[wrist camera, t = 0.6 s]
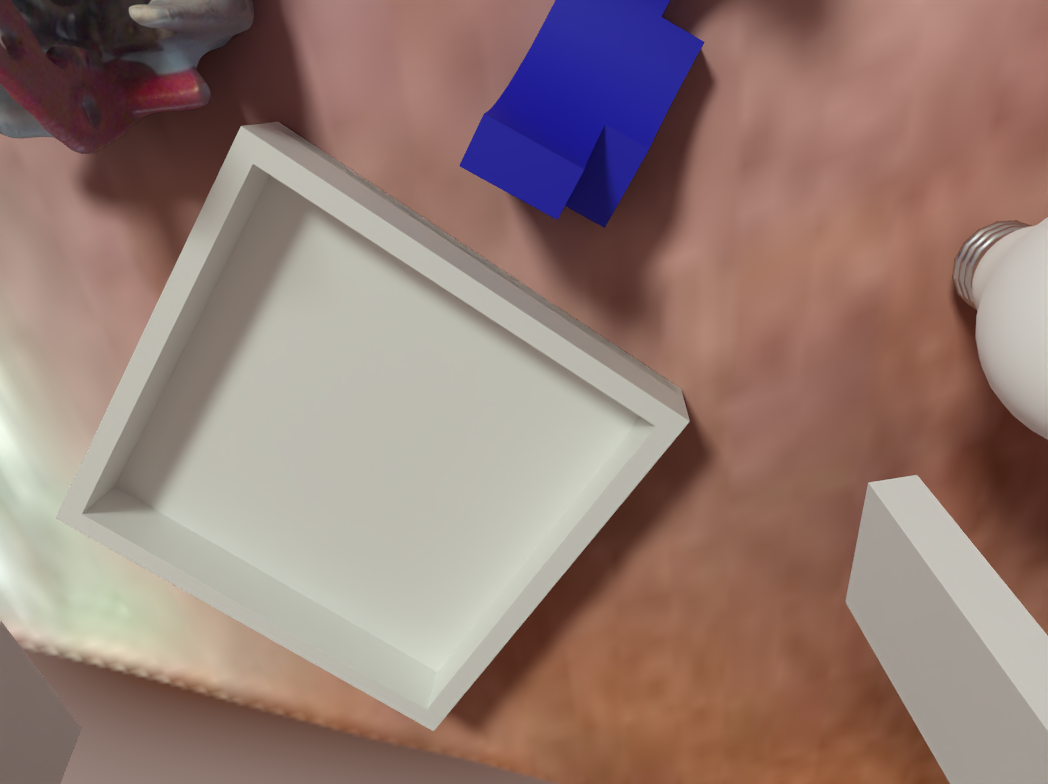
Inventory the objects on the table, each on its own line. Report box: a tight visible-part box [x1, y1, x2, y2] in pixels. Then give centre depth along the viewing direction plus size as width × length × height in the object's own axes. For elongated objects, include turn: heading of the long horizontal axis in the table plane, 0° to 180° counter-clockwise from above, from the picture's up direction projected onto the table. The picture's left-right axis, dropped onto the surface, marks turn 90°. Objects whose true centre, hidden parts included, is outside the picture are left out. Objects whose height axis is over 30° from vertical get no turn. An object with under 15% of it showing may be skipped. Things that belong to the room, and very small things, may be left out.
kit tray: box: [56, 122, 690, 731], centre depth 29 cm, size 17×17×3 cm
